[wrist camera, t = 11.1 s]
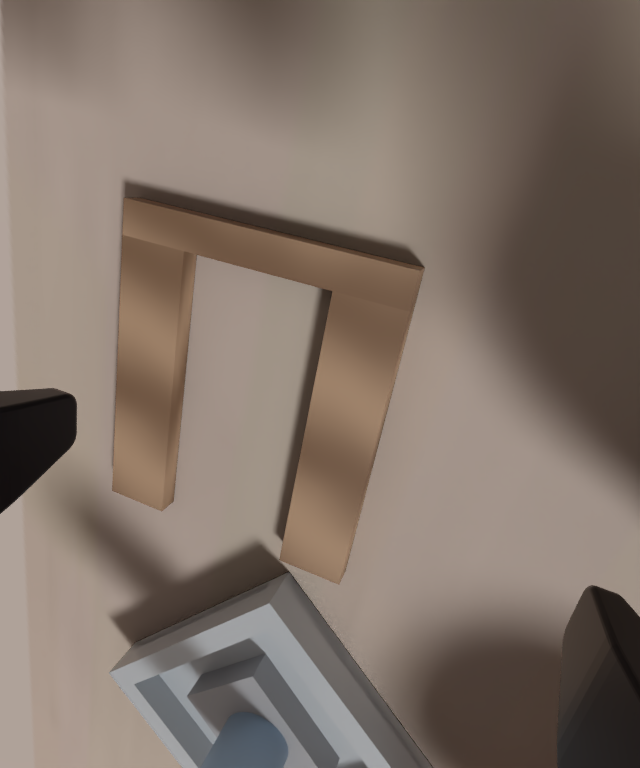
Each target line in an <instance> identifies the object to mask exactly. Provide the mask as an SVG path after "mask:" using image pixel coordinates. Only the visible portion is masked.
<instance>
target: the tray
mask: <svg viewBox="0 0 640 768" xmlns="http://www.w3.org/2000/svg"><path fill="white" fill-rule="evenodd" d="M265 653H266V654H267V656H268V657H269V659H270V660H271V662H272V663H273V664H274V666H275V667H276V669H277V670H278V671H279V673H280V674H281V676H282V677H283V678H284V680H285V681H286V683H287V684H288V686H289V687H290V688H291V690H292V691H293V693H294V694H295V695H296V697H297V698H298V700H299V701H300V702H301V704H302V705H303V707H304V708H305V710H306V711H307V712H308V714H309V715H310V717H311V718H312V719H313V721H314V722H315V724H316V725H317V727H318V728H319V729H320V731H321V732H322V734H323V735H324V736H325V738H326V739H327V741H328V742H329V743H330V745H331V746H332V748H333V749H334V751H335V752H336V753H337V755H338V756H339V758H340V759H339V762H338V765H337V768H433V767H432V766H431V765H430V763H429V762H428V761H427V759H426V758H425V757H424V755H423V754H422V752H421V751H420V750H419V748H418V747H417V746H416V744H415V743H414V742H413V740H412V739H411V737H410V736H409V735H408V733H407V732H406V731H405V729H404V728H403V727H402V725H401V724H400V722H399V721H398V720H397V718H396V717H395V716H394V714H393V713H392V712H391V710H390V709H389V707H388V706H387V705H386V703H385V702H384V701H383V699H382V698H381V697H380V695H379V694H378V692H377V691H376V690H375V688H374V687H373V686H372V684H371V683H370V682H369V680H368V679H367V677H366V676H365V675H364V673H363V672H362V671H361V669H360V668H359V667H358V665H357V664H356V662H355V661H354V660H353V658H352V657H351V656H350V654H349V653H348V652H347V650H346V649H345V647H344V646H343V645H342V643H341V642H340V641H339V639H338V638H337V637H336V635H335V634H334V633H333V631H332V630H331V628H330V627H329V626H328V624H327V623H326V622H325V620H324V619H323V618H322V616H321V615H320V613H319V612H318V611H317V609H316V608H315V607H314V605H313V604H312V603H311V601H310V600H309V598H308V597H307V596H306V594H305V593H304V592H303V590H302V589H301V588H300V586H299V585H298V583H297V582H296V581H295V579H294V578H293V577H292V575H291V574H290V573H289V572H288V573H285V574H283V575H281V576H279V577H277V578H275V579H272V580H270V581H268V582H266V583H264V584H261V585H259V586H257V587H255V588H253V589H251V590H248V591H246V592H244V593H242V594H240V595H238V596H235V597H233V598H231V599H229V600H227V601H225V602H222V603H220V604H218V605H216V606H214V607H212V608H209V609H207V610H205V611H203V612H201V613H199V614H196V615H194V616H192V617H190V618H188V619H186V620H183V621H181V622H179V623H177V624H175V625H173V626H170V627H168V628H166V629H164V630H162V631H160V632H157V633H155V634H153V635H151V636H149V637H147V638H144V639H142V640H140V641H138V642H136V643H134V645H133V646H132V647H131V648H130V649H129V650H128V651H127V653H126V654H125V655H124V656H123V657H122V658H121V659H120V661H119V662H118V663H117V664H116V665H115V666H114V667H113V669H112V670H111V671H110V672H109V674H110V675H111V676H112V678H113V679H114V680H115V682H116V683H117V684H118V685H119V687H120V688H121V689H122V691H123V692H124V693H125V694H126V696H127V697H128V698H129V700H130V701H131V702H132V703H133V705H134V706H135V707H136V709H137V710H138V711H139V713H140V714H141V715H142V716H143V718H144V719H145V720H146V722H147V723H148V724H149V725H150V727H151V728H152V729H153V731H154V732H155V733H156V735H157V736H158V737H159V738H160V740H161V741H162V742H163V744H164V745H165V746H166V747H167V749H168V750H169V751H170V753H171V754H172V755H173V756H174V758H175V759H176V760H177V762H178V763H179V764H180V766H181V767H182V768H200V767H201V766H202V764H203V762H204V760H205V759H206V757H207V755H208V753H209V751H210V750H211V748H212V746H213V744H214V743H215V741H216V739H217V737H216V736H215V735H214V733H213V732H212V731H211V729H210V728H209V726H208V725H207V724H206V722H205V721H204V720H203V718H202V717H201V715H200V714H199V713H198V711H197V710H196V709H195V707H194V706H193V704H192V703H191V702H190V700H189V699H188V698H187V695H188V694H189V692H190V691H191V689H192V688H193V686H194V685H195V683H196V682H197V680H198V679H199V677H200V676H201V674H204V673H207V672H210V671H213V670H216V669H219V668H222V667H225V666H228V665H231V664H234V663H237V662H241V661H244V660H247V659H250V658H253V657H256V656H259V655H262V654H265Z"/></svg>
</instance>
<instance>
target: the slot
mask: <svg viewBox="0 0 640 768" xmlns="http://www.w3.org/2000/svg"><path fill="white" fill-rule="evenodd" d="M197 255H200V256H203V257H207V258H211V259H215V260H218V261H222V262H226V263H230V264H233V265H237V266H241V267H244V268H248V269H252V270H256V271H259V272H263V273H267V274H271V275H274V276H278V277H282V278H285V279H289V280H293V281H297V282H300V283H304V284H308V285H312V286H315V287H319V288H323V289H326V290H330V291H332V296H331V301H330V306H329V311H328V316H327V321H326V327H325V332H324V337H323V342H322V347H321V352H320V357H319V362H318V367H317V372H316V377H315V382H314V387H313V392H312V397H311V402H310V408H309V413H308V418H307V423H306V428H305V433H304V438H303V443H302V448H301V453H300V458H299V463H298V468H297V473H296V478H295V483H294V489H293V494H292V499H291V504H290V509H289V514H288V519H287V524H286V529H285V534H284V539H283V544H282V549H281V554H280V559H279V560H281V561H283V562H286V563H288V564H290V565H293V566H295V567H298V568H300V569H302V570H305V571H307V572H310V573H312V574H315V575H317V576H319V577H322V578H324V579H327V580H329V581H331V582H334V583H336V584H339V583H340V581H341V579H342V577H343V575H344V573H345V571H346V567H347V563H348V559H349V555H350V551H351V548H352V544H353V540H354V536H355V532H356V528H357V525H358V521H359V517H360V513H361V509H362V506H363V502H364V498H365V494H366V490H367V486H368V483H369V479H370V475H371V471H372V467H373V464H374V460H375V456H376V452H377V448H378V444H379V441H380V437H381V433H382V429H383V425H384V421H385V418H386V414H387V410H388V406H389V402H390V399H391V395H392V391H393V387H394V383H395V379H396V376H397V372H398V368H399V364H400V360H401V356H402V353H403V349H404V345H405V341H406V337H407V334H408V330H409V326H410V322H411V318H412V314H413V311H414V307H415V303H416V299H417V295H418V291H419V288H420V284H421V280H422V276H423V272H424V269H425V268H424V267H420V266H416V265H412V264H408V263H404V262H400V261H396V260H392V259H388V258H383V257H379V256H375V255H371V254H367V253H363V252H359V251H355V250H351V249H347V248H343V247H339V246H335V245H330V244H326V243H322V242H318V241H314V240H310V239H306V238H302V237H298V236H294V235H290V234H286V233H282V232H277V231H273V230H269V229H265V228H261V227H257V226H253V225H249V224H245V223H241V222H237V221H233V220H229V219H224V218H220V217H216V216H212V215H208V214H204V213H200V212H196V211H192V210H188V209H184V208H180V207H176V206H172V205H167V204H163V203H159V202H155V201H151V200H147V199H143V198H124V208H123V233H122V258H121V284H120V309H119V334H118V359H117V384H116V410H115V435H114V460H113V485H112V491H114V492H117V493H119V494H121V495H124V496H126V497H129V498H131V499H134V500H136V501H138V502H141V503H143V504H146V505H148V506H150V507H153V508H155V509H158V510H160V511H163V510H164V509H165V508H166V507H167V506H168V505H170V504H171V503H172V502H173V501H174V490H175V480H176V469H177V458H178V448H179V437H180V427H181V416H182V405H183V395H184V384H185V373H186V363H187V352H188V341H189V331H190V320H191V309H192V299H193V288H194V278H195V267H196V256H197Z"/></svg>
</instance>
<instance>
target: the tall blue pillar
mask: <svg viewBox="0 0 640 768" xmlns="http://www.w3.org/2000/svg"><path fill="white" fill-rule="evenodd" d="M187 698H188V699H189V700H190V702H191V703H192V704H193V706H194V707H195V709H196V710H197V711H198V713H199V714H200V715H201V717H202V718H203V720H204V721H205V722H206V724H207V725H208V726H209V728H210V729H211V731H212V732H213V733H214V735H215V736H216V737H217V739H216V741H215V743H214V744H213V746H212V748H211V750H210V751H209V753H208V755H207V757H206V759H205V760H204V762H203V764H202V766H201V767H200V768H337V765H338V762H339V759H340V758H339V756H338V755H337V753H336V752H335V751H334V749H333V748H332V746H331V745H330V743H329V742H328V741H327V739H326V738H325V736H324V735H323V734H322V732H321V731H320V729H319V728H318V727H317V725H316V724H315V722H314V721H313V719H312V718H311V717H310V715H309V714H308V712H307V711H306V710H305V708H304V707H303V705H302V704H301V702H300V701H299V700H298V698H297V697H296V695H295V694H294V693H293V691H292V690H291V688H290V687H289V686H288V684H287V683H286V681H285V680H284V678H283V677H282V676H281V674H280V673H279V671H278V670H277V669H276V667H275V666H274V664H273V663H272V662H271V660H270V659H269V657H268V656H267V654H266V653H265V654H262V655H259V656H256V657H253V658H250V659H247V660H244V661H241V662H237V663H234V664H231V665H228V666H225V667H222V668H219V669H216V670H213V671H210V672H207V673H204V674H201V676H200V677H199V679H198V680H197V682H196V683H195V685H194V686H193V688H192V689H191V691H190V692H189V694H188V695H187Z"/></svg>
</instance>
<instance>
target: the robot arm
mask: <svg viewBox="0 0 640 768" xmlns="http://www.w3.org/2000/svg"><path fill="white" fill-rule="evenodd" d="M76 434H77V402H76V399H75V397H74V396H73V395H71V394H69V393H66V392H64V391H61V390H58V389H54V388H48V389H32V390H16V391H0V514H1V513H2V512H3V511H4V510H5V509H7V508H8V507H9V506H10V505H11V504H12V503H13V502H15V501H16V500H17V499H18V498H19V497H20V496H21V495H22V494H23V493H24V492H25V491H26V490H27V489H28V488H29V487H30V486H31V485H33V484H34V483H35V482H36V481H37V480H38V479H39V478H40V477H41V476H42V475H43V474H44V473H45V472H46V471H47V470H48V469H49V468H50V467H51V466H52V465H53V464H54V463H55V462H56V461H57V460H58V459H59V458H60V457H61V456H62V455H64V454H65V453H66V452H67V451H68V450H69V449H70V448H71V446H72V445H73V443H74V441H75V439H76ZM557 761H558V768H640V617H639V616H638V615H637V613H636V612H635V611H634V610H633V609H632V608H631V607H630V605H629V604H628V603H627V602H626V601H625V600H624V599H623V598H622V597H621V596H620V595H619V594H617V593H614V592H611V591H608V590H606V589H603V588H600V587H597V586H594V585H591V586H588V587H587V588H586V589H585V590H584V592H583V594H582V596H581V598H580V600H579V602H578V604H577V606H576V608H575V610H574V612H573V614H572V616H571V618H570V620H569V622H568V624H567V627H566V629H565V633H564V637H563V646H562V663H561V680H560V697H559V714H558V732H557Z"/></svg>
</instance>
